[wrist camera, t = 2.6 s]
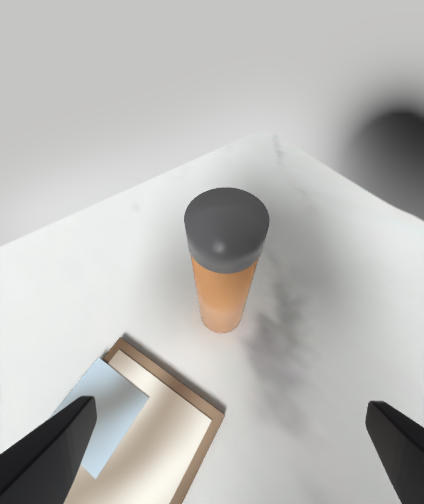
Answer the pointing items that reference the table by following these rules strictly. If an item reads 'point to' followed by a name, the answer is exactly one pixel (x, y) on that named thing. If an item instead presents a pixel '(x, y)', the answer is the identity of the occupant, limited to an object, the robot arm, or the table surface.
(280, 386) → the table surface
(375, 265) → the table surface
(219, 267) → the marker
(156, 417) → the board
